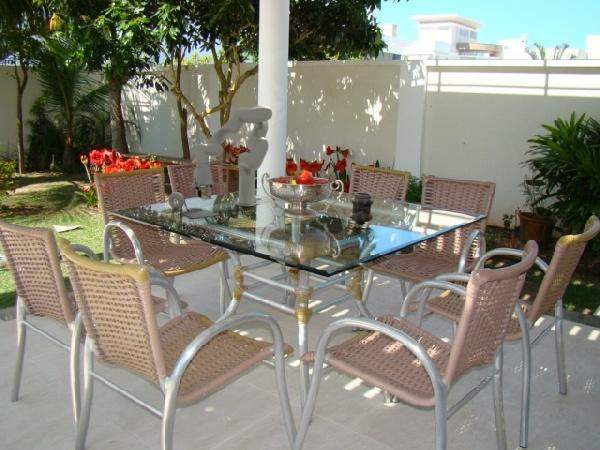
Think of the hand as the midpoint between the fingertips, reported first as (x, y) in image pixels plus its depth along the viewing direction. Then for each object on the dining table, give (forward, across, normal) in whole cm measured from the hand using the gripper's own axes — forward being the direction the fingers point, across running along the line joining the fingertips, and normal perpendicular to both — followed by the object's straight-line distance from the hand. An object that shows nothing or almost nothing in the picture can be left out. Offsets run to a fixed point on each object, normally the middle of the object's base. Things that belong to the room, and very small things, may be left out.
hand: (203, 196), depth 324 cm
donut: (+6, +16, -3) cm, 18 cm away
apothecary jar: (+9, -50, +80) cm, 95 cm away
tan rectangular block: (+1, 0, 0) cm, 1 cm away
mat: (+6, +11, +16) cm, 20 cm away
